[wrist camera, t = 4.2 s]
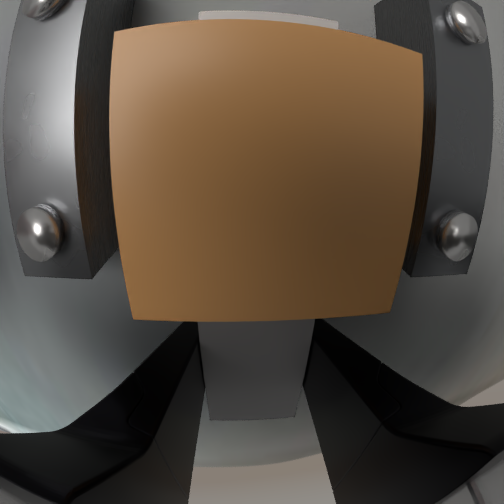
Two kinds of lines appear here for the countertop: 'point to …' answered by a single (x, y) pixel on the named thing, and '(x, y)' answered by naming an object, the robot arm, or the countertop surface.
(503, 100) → the countertop surface
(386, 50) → the plug
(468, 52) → the grey bolted bar pair
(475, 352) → the countertop surface
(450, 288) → the countertop surface
